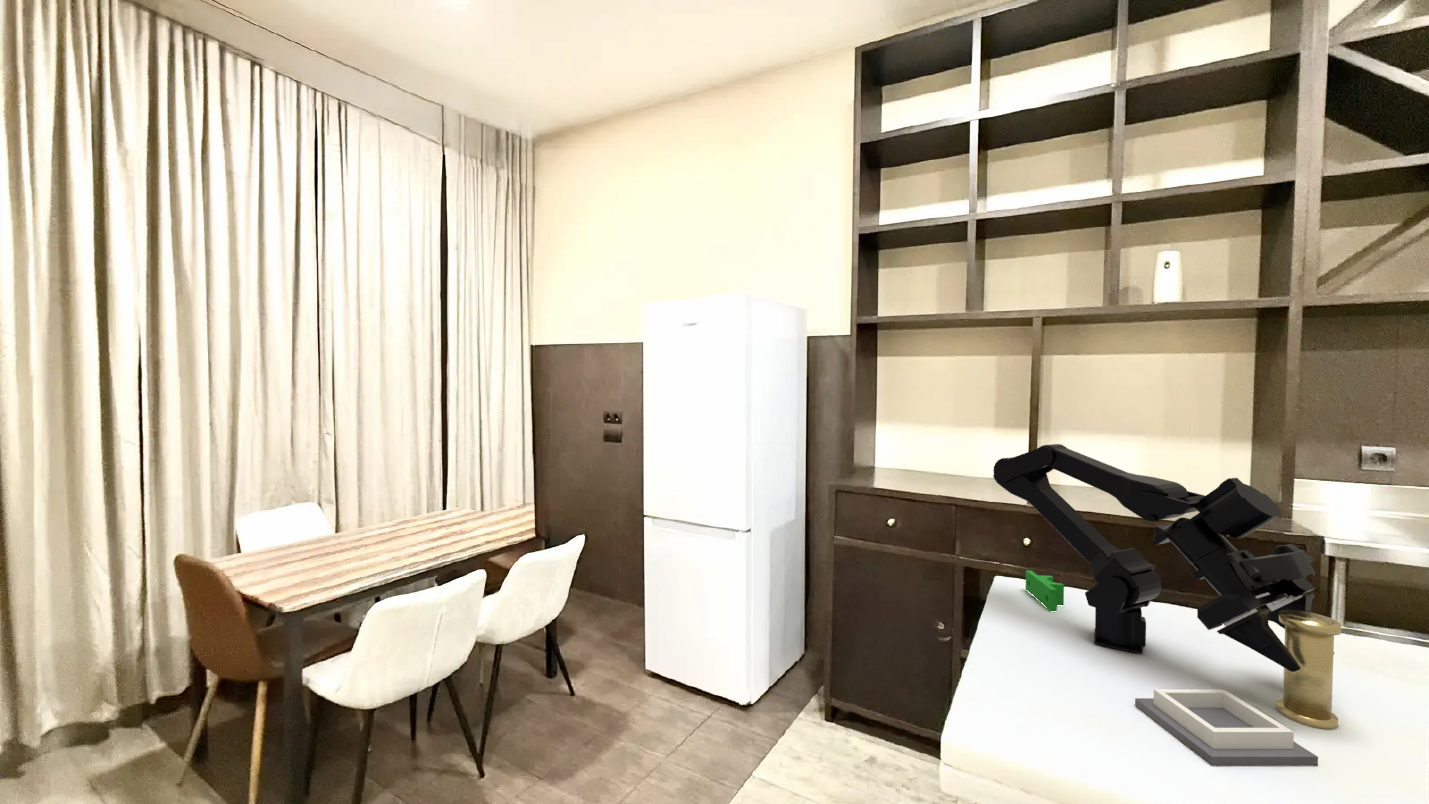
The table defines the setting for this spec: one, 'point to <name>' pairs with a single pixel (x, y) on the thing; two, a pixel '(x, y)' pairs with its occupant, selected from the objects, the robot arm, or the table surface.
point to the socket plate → (1224, 728)
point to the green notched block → (1045, 590)
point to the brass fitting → (1309, 669)
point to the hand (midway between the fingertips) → (1314, 662)
